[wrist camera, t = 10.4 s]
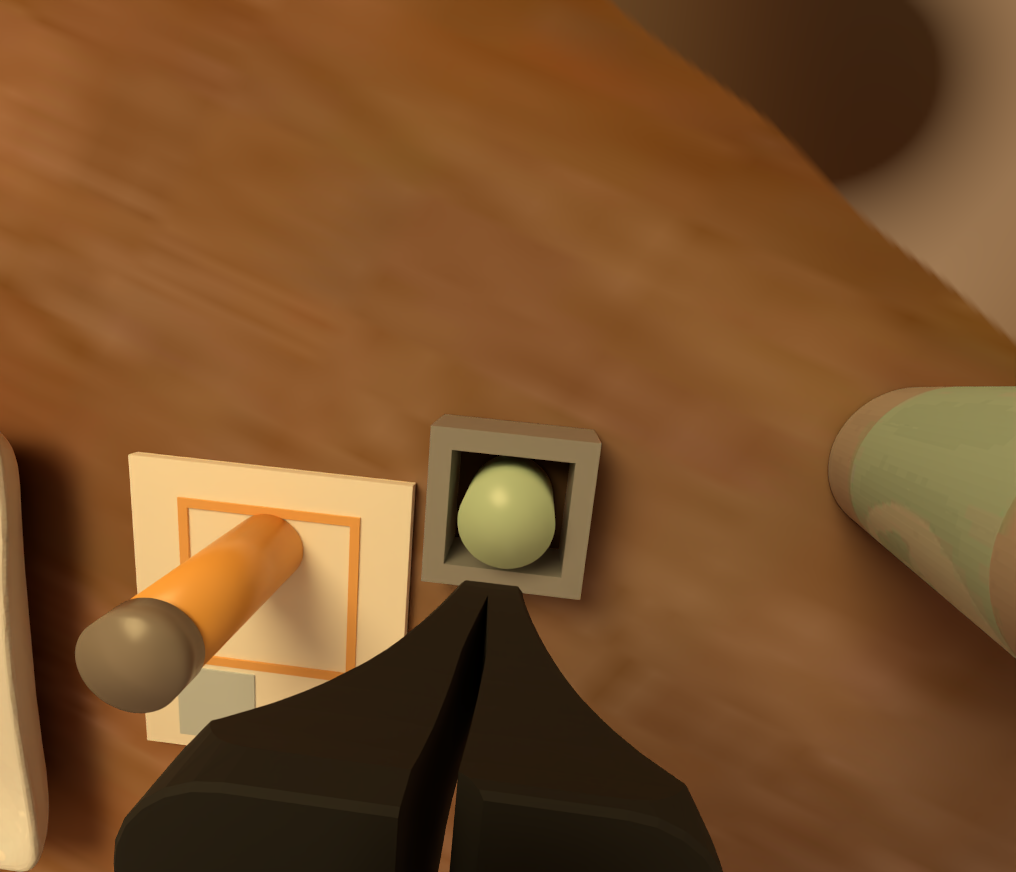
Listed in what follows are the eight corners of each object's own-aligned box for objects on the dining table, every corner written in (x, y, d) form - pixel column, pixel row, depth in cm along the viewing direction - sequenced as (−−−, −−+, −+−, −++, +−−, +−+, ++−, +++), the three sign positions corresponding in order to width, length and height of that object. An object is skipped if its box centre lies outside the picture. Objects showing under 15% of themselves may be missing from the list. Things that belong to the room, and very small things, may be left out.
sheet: (399, 765, 24) (395, 775, 23) (155, 731, 24) (145, 741, 24) (415, 482, 21) (411, 487, 20) (137, 451, 21) (126, 455, 21)
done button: (548, 539, 21) (549, 574, 18) (466, 530, 21) (453, 563, 18) (557, 459, 20) (560, 481, 17) (472, 450, 20) (461, 471, 17)
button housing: (575, 568, 21) (580, 599, 19) (435, 552, 21) (421, 580, 19) (594, 429, 20) (601, 443, 17) (444, 414, 20) (431, 425, 18)
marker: (305, 583, 21) (186, 719, 14) (234, 576, 22) (82, 706, 14) (303, 516, 21) (177, 624, 14) (231, 509, 21) (68, 611, 14)
